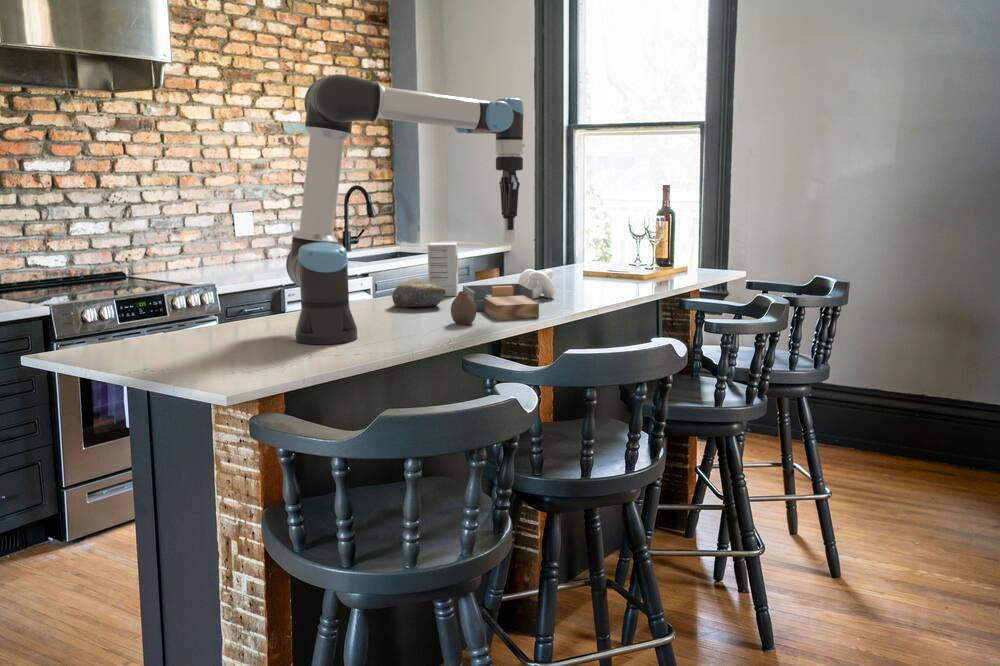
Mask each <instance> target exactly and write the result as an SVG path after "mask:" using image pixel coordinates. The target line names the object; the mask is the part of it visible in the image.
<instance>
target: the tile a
mask: <svg viewBox="0 0 1000 666" xmlns="http://www.w3.org/2000/svg"><path fill="white" fill-rule="evenodd" d="M491 292H492V297H502V296H513V286H491Z"/></svg>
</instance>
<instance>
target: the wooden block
mask: <svg viewBox="0 0 1000 666" xmlns="http://www.w3.org/2000/svg"><path fill="white" fill-rule="evenodd" d="M484 312H485V313H487V314H488V316H491V317H492V318H494V319H495V320H496V321H502V320H503V321H504V320H520V319H519V318H524V319H532V318H531V317H539V318H540V303H539V302H537V301H535V300H534V299H533V300H531V299H529V298H527V297H526V296H524V295H523V296H502V297H484Z"/></svg>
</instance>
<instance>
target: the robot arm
mask: <svg viewBox="0 0 1000 666" xmlns="http://www.w3.org/2000/svg"><path fill="white" fill-rule="evenodd" d="M303 101H304V102H303V103H304V109H305V113H306V114H305V121H304V122H305V123H304V129H305V130H306V132H307V133H308V134H309V142H308V150H307V158H306V159H307V160H306V168H305V178H304V184H303V185H304V186H303V195H302V203H301V213H300V220H299V221H300V222H299V229H298V230H297V231H296V232H295V233H294V234H293V235H292V238H291V247H290V251H289V252H288V254H287V257H286V262H285V269H286V272H287V274H288V275H287V276H288V277H289V278H290V281H291V282H292V283H294V285H296V286H297V287H298V288H300V307H301V308H300V309H301V310H300V313H299V316H298V322H297V325H296V327H295V342H297V343H300V344H303V345H304V344H305V345H330V344H331V345H333V344H334V345H335V344H343V342H344V343H347V342H351V341H355V340H356V339H358V327H357V325H356V322H355V318H354V317H353V315H352V311H351V307H350V299H349V298H350V295H349V293H350V292H349V274H348V273H349V272H348V270H349V269H348V265H349V264H348V262H349V258H348V254H347V253H348V251H347V249H346V248H345V247H344V246H343V245H342V244H339V241H338V239H337V238H336V236H335V235H334V228H335V221H336V211H337V203H338V193H339V188H340V187H339V186H340V185H339V184H340V179H341V178H340V177H341V169H342V161H343V152H344V144H345V141H346V140H347V139H348V138H349V137H351V136H352V129H353V128H352V127H353V122H372V123H373V122H374V123H375V122H376V121H378V120H379V119H382V120H384V119H385V120H391V121H400V122H409V123H418V124H426V125H434V126H441V127H451V128H453V129H454V130H455V131H456V132H457V133H458V134H466V135H468V134H479V135H480V134H492V135H495V155H497V156H496V157H495V170H496V171H502V175H501V177H500V181H499V189H500V204H501V206H500V207H501V216H502V218H503V242H504V243H514V242H515V231H516V230H515V218H516V217H517V216H518V203H519V202H518V201H519V191H520V185H521V184H520V181H519V178H518V175H517V171H523V169H524V158H523V157H522V156H521V155H523V154H524V151H523V150H524V149H523V148H525V146H526V144H525V143H524V141H523V140H524V116H525V115H524V104H523V101H522V99H521V98H517V97H516V98H514V97H510V98H509V97H500V98H497V99H495V100H494V101H492V100H491V101H489V100H484V99H483V100H482V99H475V98H467V97H461V96H453V95H445V94H439V93H432V92H424V91H416V90H410V89H404V88H403V89H402V88H395V87H388V86H387V87H386V86H382V85H381V83H380V81H376V80H371V79H370V80H369V79H366V78H365V79H364V78H359V77H356V76H355V77H354V76H351V75H346V74H339V73H336V74H335V73H334V74H331V75H328V76H325V77H321V78H319V79H317V80H316V81H314V82H313V83H312V84H311V85H310V86H309V87H308V88H307V91H306V93H305V95H304V100H303Z"/></svg>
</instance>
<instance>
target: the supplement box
mask: <svg viewBox="0 0 1000 666" xmlns="http://www.w3.org/2000/svg"><path fill="white" fill-rule="evenodd" d="M458 252H459V251H458V242H455V241H454V242H450V241H449V242H430V243H429V244H427V265H428V267H427V268H428V271H427V272H428V282H431V283H433V284H435V285H438V286H440V287H442V288H443V289H444V290H445V295H444V297H456V296H457V295H458V293H459V265H458V263H459V262H458V261H459V260H458V257H459V255H458Z"/></svg>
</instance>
